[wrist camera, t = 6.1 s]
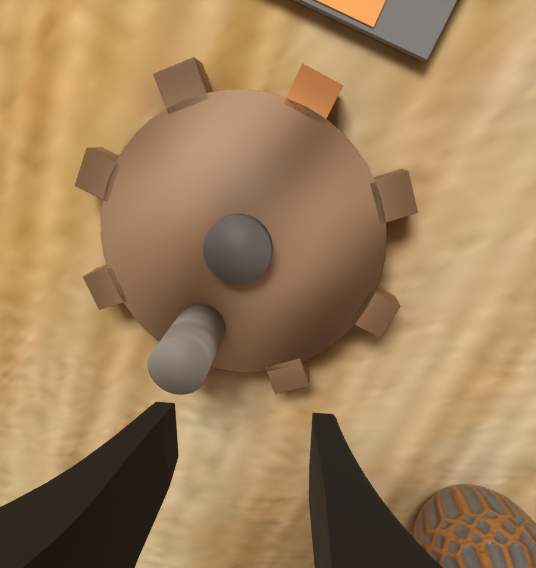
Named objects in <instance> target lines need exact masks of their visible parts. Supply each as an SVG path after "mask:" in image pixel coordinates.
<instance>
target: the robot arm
mask: <svg viewBox="0 0 536 568" xmlns="http://www.w3.org/2000/svg"><path fill="white" fill-rule="evenodd" d="M177 459H178V442H177V428H176V414H175V403H166V402H155V403H154V404H153V405H151V406H150V407H149V408H148V409H147V410H145V411H144V412H143V413H142V414H141V415H139V416H138V417H137V418H136V419H135V420H133V421H132V422H131V423H130V424H129V425H127V426H126V427H125V428H124V429H122V430H121V431H120V432H119V433H118V434H116V435H115V436H114V437H113V438H111V439H110V440H109V441H107V442H106V443H105V444H103V445H102V446H101V447H99V448H98V449H97V450H95V451H94V452H92V453H91V454H90V455H88V456H87V457H86V458H84V459H83V460H82V461H80V462H79V463H77V464H76V465H74V466H73V467H71V468H70V469H68V470H67V471H65V472H63V473H62V474H60V475H58V476H57V477H55V478H54V479H52V480H50V481H49V482H47V483H45V484H43V485H42V486H40V487H38V488H36V489H34V490H32V491H30V492H29V493H27V494H25V495H23V496H21V497H19V498H17V499H16V500H14V501H12V502H10V503H8V504H6V505H4V506H2V507H0V568H135V565H136V563H137V560H138V558H139V555H140V553H141V551H142V548H143V546H144V544H145V542H146V539H147V537H148V535H149V533H150V530H151V528H152V526H153V523H154V521H155V519H156V517H157V514H158V512H159V510H160V507H161V505H162V503H163V501H164V498H165V496H166V494H167V491H168V489H169V486H170V483H171V480H172V476H173V473H174V470H175V466H176V463H177ZM309 505H310V517H311V529H312V540H313V551H314V563H315V568H443V567H442V566H441V565H440V564H439V563H438V562H437V561H436V560H435V559H433V558H432V557H431V556H430V555H429V554H428V552H427V551H426V550H425V549H424V548H423V547H422V546H421V545H420V544H419V543H418V542H417V541H416V540H415V539H414V538H413V537H412V536H411V535H410V534H409V532H408V531H407V530H406V529H405V528H404V527H403V526H402V524H401V523H400V522H399V521H398V520H397V518H396V517H395V516H394V515H393V514H392V512H391V511H390V510H389V508H388V507H387V506H386V505H385V503H384V502H383V501H382V499H381V498H380V497H379V495H378V494H377V492H376V491H375V489H374V488H373V487H372V485H371V484H370V482H369V480H368V479H367V477H366V476H365V474H364V473H363V471H362V469H361V468H360V466H359V464H358V463H357V461H356V459H355V457H354V456H353V454H352V452H351V450H350V448H349V446H348V444H347V442H346V440H345V438H344V436H343V434H342V432H341V430H340V427H339V425H338V422H337V419H336V417H335V416H334V415H333V414H324V413H313V415H312V432H311V448H310V465H309Z"/></svg>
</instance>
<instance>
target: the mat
mask: <svg viewBox="0 0 536 568" xmlns="http://www.w3.org/2000/svg"><path fill="white" fill-rule="evenodd" d="M293 1H295V2H297V3H300V4H302V5H304V6H306V7H308V8H310V9H312V10H314V11H316V12H319V13H321V14H323V15H325V16H327V17H329V18H331V19H333V20H335V21H338V22H340V23H342V24H344V25H346V26H348V27H350V28H352V29H354V30H357V31H359V32H361V33H363V34H365V35H367V36H369V37H371V38H373V39H376V40H378V41H380V42H382V43H384V44H386V45H388V46H390V47H392V48H395V49H397V50H399V51H401V52H403V53H405V54H407V55H409V56H411V57H414V58H416V59H418V60H420V61H422V62H424V61H426V60H427V59H428V57H429V55H430V53H431V51H432V49H433V47H434V45H435V43H436V41H437V39H438V37H439V35H440V33H441V31H442V29H443V27H444V25H445V23H446V21H447V19H448V17H449V15H450V13H451V11H452V9H453V7H454V5H455V3H456V1H457V0H293Z"/></svg>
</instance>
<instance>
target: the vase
mask: <svg viewBox="0 0 536 568" xmlns="http://www.w3.org/2000/svg"><path fill="white" fill-rule="evenodd" d="M412 537H413V538H414V539H415V540H416V541H417V542H418V543H419V544H420V545H421V546H422V547H423V548H424V549H425V550H426V551H427V552H428V554H429V555H430V556H431V557H432V558H433V559H435V560H436V561H437V562H438V563H439V564H440V565H441V566H442V567H443V568H536V523H535V522H534V521H533V520H532V519H531V518H530V517H529V516H528V515H527V514H526V513H525V512H524V511H523V510H522V509H521V508H520V507H519V506H518V505H516V504H515V503H514V502H512V501H511V500H509V499H508V498H507V497H505V496H503V495H501V494H499V493H497V492H495V491H492V490H490V489H487V488H484V487H479V486H473V485H456V486H451V487H448V488H445V489H443V490H441V491H439V492H437V493H436V494H435V495H433V496H432V497H431V498H430V499H429V500H428V501H427V502H426V503H425V504H424V505H423V507H422V508H421V510H420V512H419V514H418V515H417V518H416V521H415V525H414V529H413V536H412Z"/></svg>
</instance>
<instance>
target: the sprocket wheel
mask: <svg viewBox="0 0 536 568" xmlns="http://www.w3.org/2000/svg"><path fill="white" fill-rule="evenodd" d="M153 75H154V78H155V80H156V83H157V85H158V88H159V91H160V93H161V96H162V99H163V101H164V104H165V106H166V109H165V110H164V111H162V112H161V113H159V114H158V115H156V116H155V117H153V118H152V119H151V120H150V121H148V122H147V123H146V124H145V125H144V126H143V127H142V128H141V129H140V130H139V131H138V132H137V133H136V134H135V135H134V136H133V138H132V139H131V140H130V141H129V143H128V144H127V145H126V146H125V148H124V149H123V151H122V153H121V154H120V156H118V155H116V154H114V153H112V152H110V151H108V150H106V149H104V148H102V147H96V148H86V151H85V155H84V158H83V161H82V164H81V167H80V171H79V174H78V177H77V180H76V183H75V186H76V187H78V188H80V189H82V190H84V191H86V192H88V193H90V194H92V195H94V196H96V197H98V198H100V199H102V200H103V203H102V211H101V240H102V247H103V254H104V257H105V261H106V265H105V266H102V267H99V268H96V269H95V270H93V271H92V272H90V273H88V274H87V275H85V276H83V278H84V280H85V282H86V284H87V286H88V288H89V290H90V292H91V294H92V296H93V298H94V300H95V302H96V304H97V306H98V308H99V310H101V309H104V308H107V307H110V306H114V305H117V304H120V303H124V304H125V305H126V307H127V308H128V310H129V311H130V312H131V314H132V315H133V316H134V318H135V319H136V320H137V321H138V322H139V323H140V324H141V325H142V327H143V328H144V329H145V330H147V331H148V332H149V333H150V334H151V335H152V336H153V337H154V338H156V339H157V340H158V341H159V343H158V344H157V346H156V347H155V349H154V350H153V351H152V353H151V354H150V357H149V360H148V370H149V373H150V376H151V378H152V379H153V381H154V382H155V383H156V384H157V385H158V386H159V387H160V388H162V389H163V390H165V391H167V392H170V393H173V394H180V395H182V394H189V393H192V392H194V391H196V390H198V389H199V388H200V387H201V386H202V385H203V383H204V381H205V379H206V377H207V374H208V372H209V370H210V367H213V368H216V369H222V370H228V371H234V372H265V371H267V373H268V376H269V378H270V381H271V384H272V386H273V389H274V392H275V394H277V393H281V392H286V391H290V390H294V389H298V388H302V387H307V386H309V369H308V366H307V363H306V360H308V359H310V358H313V357H315V356H317V355H318V354H320V353H322V352H323V351H325V350H326V349H328V348H330V347H331V346H332V345H333V344H335V343H336V342H337V341H338V340H340V339H341V338H342V337H343V336H344V335H345V334H346V333H347V332H348V331H349V330H350V329H351V328H352V327H353V326H354V325H356V326H358V327H360V328H362V329H364V330H366V331H368V332H370V333H372V334H374V335H376V336H378V337H381V335H382V334H383V332H384V331H385V329H386V328H387V326H388V325H389V323H390V322H391V320H392V319H393V317H394V316H395V314H396V313H397V311H398V310H399V308H400V307H401V306H400V304H399V302H398V300H397V299H396V297H395V295H393V294H391V293H389V292H387V291H385V290H383V289H381V288H379V287H377V286H378V283H379V280H380V278H381V274H382V270H383V265H384V261H385V253H386V243H387V236H386V222H389V221H392V220H396V219H399V218H402V217H406V216H409V215H412V214H415V213H418V210H417V206H416V202H415V197H414V193H413V189H412V184H411V180H410V176H409V171H407V170H404V169H399V170H396V171H393V172H390V173H387V174H384V175H381V176H377V177H374V178H373V176H372V174H371V172H370V170H369V167H368V165H367V164H366V162H365V161H364V159H363V158H362V156H361V155H360V153H359V152H358V150H357V149H356V147H355V146H354V145H353V144H352V143H351V142H350V141H349V140H348V139H347V137H346V136H345V135H344V134H343V133H342V132H341V131H340V130H339V129H338V128H336V127H335V126H334V125H333V124H332V123H330V122H329V121H328V120H327V117H328V115H329V113H330V111H331V109H332V107H333V105H334V103H335V101H336V99H337V97H338V95H339V93H340V91H341V89H342V87H343V85H342V84H340V83H338V82H336V81H334V80H332V79H330V78H329V77H327V76H325V75H323V74H321V73H319V72H317V71H316V70H314V69H312V68H310V67H308V66H306V65H304V64H303V63H302V65H301V67H300V70H299V72H298V74H297V76H296V78H295V80H294V83H293V85H292V87H291V89H290V91H289V93H288V96H287V98H285V97H282V96H278V95H275V94H271V93H267V92H260V91H253V90H221V91H215V92H212V90H211V87H210V84H209V81H208V78H207V76H206V73H205V70H204V67H203V64H202V63H201V62H200V61H198V60H197V59H195V58H194V57H193V58H191V59H188V60H186V61H184V62H181V63H179V64H176V65H174V66H171V67H169V68H167V69H164V70H162V71H159V72H157V73H155V74H153Z"/></svg>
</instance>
